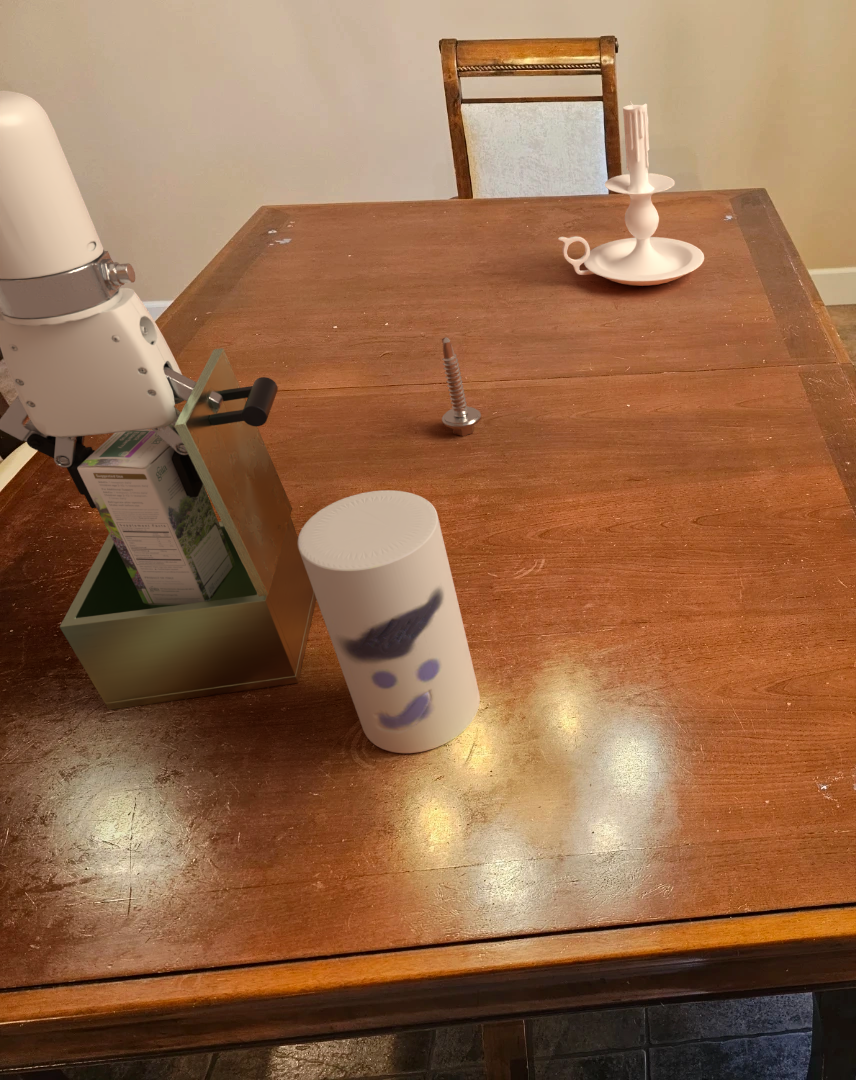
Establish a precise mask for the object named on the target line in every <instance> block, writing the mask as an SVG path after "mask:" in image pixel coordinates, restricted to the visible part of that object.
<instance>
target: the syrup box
mask: <svg viewBox="0 0 856 1080" xmlns="http://www.w3.org/2000/svg"><path fill="white" fill-rule="evenodd" d="M174 452H175V451H174V449H173V448H172V447H171V446H170V445H168V444H167V443H166V442H165V441H164V440H163V439H162V438H161V437H160V436H159V435H158V434H157V433H155V432H154V431H153V430H152V429H146V430H137V431H127V432H118V433H112V435H111V436H110V437H109V438H108V439H106V440H105V441H104V442H103V443H102V444H100V446H98V447H97V448H96V449H95V451H94V452H93V453H92V454H91V455H90V456H89V457H88V458H87V459H86V460H85V461H84V462H83V463H81V464H80V465H79V466H78V468H77V469H78V471H79V473H80V475H81V477H82V479H83V482H84V484H85V485H86V487H87V490H88V492H89V494H90V496H91V498H92V500H93V502H94V504H95V506H96V508H95V509H97V512H98V513H99V516H100V518H101V520H102V522H103V524H104V526H105V528H106V531H107V532H108V535H109V534H110V536H111V538H112V540H113V542H114V544H115V546H116V548H117V550H118V552H119V554H120V556H121V558H122V560H123V562H124V564H125V566H126V568H127V570H128V572H129V574H130V576H131V578H132V580H133V582H134V584H135V586H136V588H137V590H138V592H139V594H140V596H141V599H142V601H143V602H144V603H145V604H151V605H183V604H191V603H199V602H207V601H210V600H211V599H212V597H213V596H214V594H215V593H216V592H217V590H218V589H219V588H220V586H221V585H222V583H223V582H224V581H225V579H226V578H227V576H228V575H229V574H230V572H231V571H232V570H233V568H234V567H235V562H234V559H233V557H232V554H231V552H230V549H229V547H228V544H227V542H226V539H225V537H224V535H223V532H222V530H221V527H220V525H219V522H220V521H219V520H218V517H217V514H216V512H215V510H214V506H213V504H212V501H211V499H210V497H209V495H208V493H207V491H206V489H205V487H204V485H203V486H202V488H201V490H200V493H199V495H198V497H189V496H187V495H186V492H185V490H184V488H183V485H182V483H181V481H180V478H179V476H178V474H177V472H176V469H175V467H174V465H173V462H172V456H173V454H174Z"/></svg>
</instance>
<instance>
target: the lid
mask: <svg viewBox="0 0 856 1080" xmlns="http://www.w3.org/2000/svg"><path fill="white" fill-rule="evenodd" d="M196 382H197V383H196V385H195V387H194V389H193V391H192V392H191V394H190V396H189V398H188V400H187V401H186V402H185V404H184V406H183V408H182V409H181V411H180V412H181V414H180V416H179V417H178V419H177V421H176V423H175V425H174V426H175V428H176V430H177V432H178V434H179V436H180V438H181V440H182V442H183V444H184V446H185V448H186V450H187V452H188V454H189V456H190V458H191V460H192V462H193V464H194V466H195V469H196V471H197V473H198V475H199V477H200V479H201V481H202V483H203V485H204V487H205V490H206V492H207V495H208V497H209V500H210V502H211V504H212V506H213V508H214V509H215V511H216V514H217V515H218V517H219V519H220V521H222V523H223V525H224V527H225V529H226V531H227V533H228V535H229V537H230V539H231V541H232V543H233V545H234V547H235V549H236V551H237V553H238V555H239V558H240V560H241V562H242V564H243V566H244V568H245V570H246V572H247V574H248V576H249V578H250V580H251V582H252V584H253V586H254V588H255V590H256V592H257V594H258V596H259V597H260V596H266V595H268V594H269V591H270V587H271V584H272V580H273V576H274V573H275V569H276V566H277V562H278V559H279V555H280V551H281V548H282V544H283V541H284V537H285V533H286V530H287V526H288V523H289V519H290V516H291V515H292V511H293V506H292V504H291V501H290V500H289V497H288V495H287V493H286V490H285V488H284V486H283V483H282V480H281V478H280V476H279V474H278V472H277V469H276V467H275V465H274V461H273V460H272V457H271V455H270V453H269V451H268V448H267V446H266V444H265V441H264V439H263V436H262V435H261V432H260V430H259V428H258V427H261V426H263V425H265V424H266V422H267V421H268V418H269V415H270V413H271V410H272V407H273V404H274V401H275V399H276V396H277V393H278V390H279V387H278V385H277V383H276V382H275V380H274V379H272V378H270V377H266V376H262V377H258V378H256V380H254V382H253V384H252V385H249V386H243V387H242V386H240V383H239V381H238V378H237V376H236V374H235V372H234V369H233V367H232V364H231V363H230V360H229V357H228V355H227V353H226V351H225V349H224V347H221V348H215V349H213V350H212V352H211V353H210V356H209V358H208V359H207V361H206V364H205V366H204V367H203V369H202V371H201V373H200V375H199V376H198V379H197V381H196ZM212 391H214V392H216V393H218V394H220V395H221V396H222V397H223V402H222V405H221V407H220V409H219V411H218V412H217V414H216V412H215V410H214V407H213V405H212V403H211V401H210V399H209V397H210V395H211V393H212ZM291 517H292V516H291Z"/></svg>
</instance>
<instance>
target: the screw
mask: <svg viewBox="0 0 856 1080" xmlns="http://www.w3.org/2000/svg"><path fill="white" fill-rule="evenodd" d="M441 343H442V355H443V358H442V361H443V363H442V365H443V366H444V367H443V370H444V374H445V379H447V380H446V383H447V386H446V387H448V392H449V393H448V395H449V396H450V397H449V399H450V404H451V409H449V410H447V411H446V412H445V413H444V414H443V415H442V417H441V422H442V424H443V426H445V427H447V428H450V429H452V430H453V431H452V432H453V434H454V435H456V436H460V437H465V436H468V435H471V434H474V431H475V425H476V424H478V423H479V422H480V421H481V419H482V413H481V411H480V410H479V409H476V408H475V407H473V406H468V405H467V400H466V398H467V397H466V394H465V389H464V385H463V380H462V375H461V374H462V373H461V370H460V369H461V368H460V367H459V366H460V363H459V359H458V358H457V354H456V353H455V350H454V347H453V343H452V342H451V339H450V338H449V337H447V336H445V337H443V338H442V339H441Z"/></svg>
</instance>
